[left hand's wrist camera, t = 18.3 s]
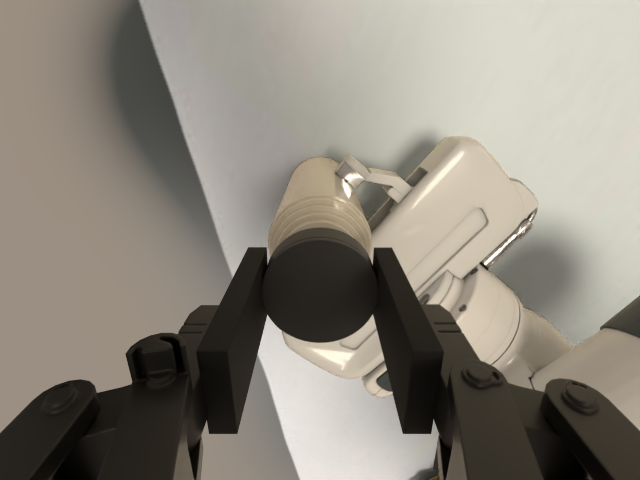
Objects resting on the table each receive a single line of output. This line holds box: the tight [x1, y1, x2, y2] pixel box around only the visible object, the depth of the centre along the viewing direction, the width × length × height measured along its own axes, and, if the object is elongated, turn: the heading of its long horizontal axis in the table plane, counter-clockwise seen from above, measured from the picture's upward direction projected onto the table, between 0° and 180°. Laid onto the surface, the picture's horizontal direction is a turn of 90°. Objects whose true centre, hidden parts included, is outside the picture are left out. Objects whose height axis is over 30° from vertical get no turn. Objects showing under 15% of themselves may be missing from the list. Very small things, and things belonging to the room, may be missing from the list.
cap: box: [262, 227, 378, 343], centre depth 14 cm, size 4×4×2 cm
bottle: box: [268, 157, 372, 257], centre depth 22 cm, size 6×6×18 cm
